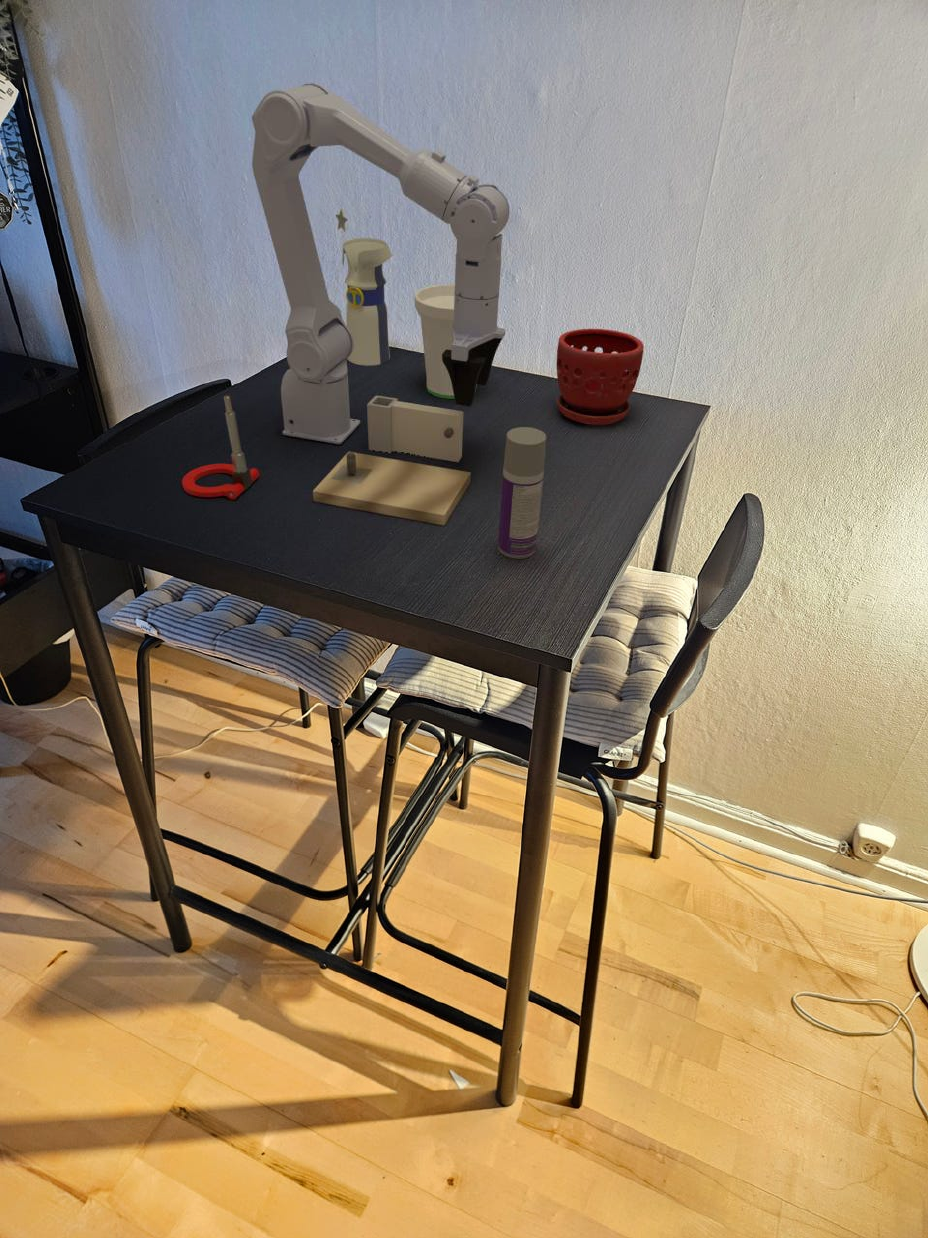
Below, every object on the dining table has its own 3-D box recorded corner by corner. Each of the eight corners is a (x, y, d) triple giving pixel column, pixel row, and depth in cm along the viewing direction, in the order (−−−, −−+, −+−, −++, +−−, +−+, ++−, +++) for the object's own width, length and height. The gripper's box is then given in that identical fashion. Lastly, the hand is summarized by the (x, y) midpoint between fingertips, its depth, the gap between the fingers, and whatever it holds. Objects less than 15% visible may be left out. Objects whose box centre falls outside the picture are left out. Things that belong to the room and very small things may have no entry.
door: (368, 449, 122) (367, 404, 118) (377, 439, 124) (375, 395, 120) (456, 464, 119) (458, 418, 115) (463, 454, 122) (465, 409, 117)
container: (495, 538, 104) (503, 426, 95) (532, 537, 105) (543, 426, 95) (500, 559, 100) (508, 445, 91) (538, 558, 101) (550, 444, 92)
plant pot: (649, 419, 134) (662, 345, 126) (587, 437, 128) (597, 360, 120) (595, 390, 142) (605, 319, 135) (534, 406, 136) (541, 333, 129)
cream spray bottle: (376, 370, 146) (371, 214, 130) (336, 359, 149) (326, 207, 134) (401, 355, 152) (399, 205, 136) (362, 346, 155) (356, 198, 139)
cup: (488, 405, 136) (494, 310, 126) (412, 402, 136) (411, 306, 126) (488, 376, 145) (492, 285, 136) (416, 373, 145) (416, 282, 136)
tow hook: (171, 495, 111) (234, 504, 108) (148, 402, 103) (215, 410, 101) (204, 467, 117) (264, 475, 115) (185, 378, 109) (248, 385, 107)
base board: (313, 501, 110) (310, 469, 107) (349, 461, 119) (347, 430, 116) (444, 525, 106) (444, 492, 103) (470, 482, 115) (471, 451, 112)
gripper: (492, 314, 101) (485, 419, 109) (520, 281, 112) (512, 378, 120) (436, 306, 102) (434, 410, 110) (469, 274, 113) (465, 371, 121)
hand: (471, 393), depth 115 cm, fingers open, 7 cm apart
